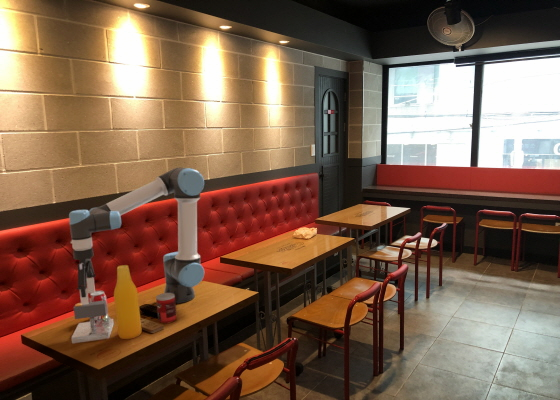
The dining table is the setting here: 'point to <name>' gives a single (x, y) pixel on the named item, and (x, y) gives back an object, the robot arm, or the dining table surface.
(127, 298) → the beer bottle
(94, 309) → the grey block orange dot
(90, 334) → the plate
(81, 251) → the robot arm
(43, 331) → the dining table surface
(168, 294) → the canned food
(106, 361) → the dining table surface
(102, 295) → the soda can
